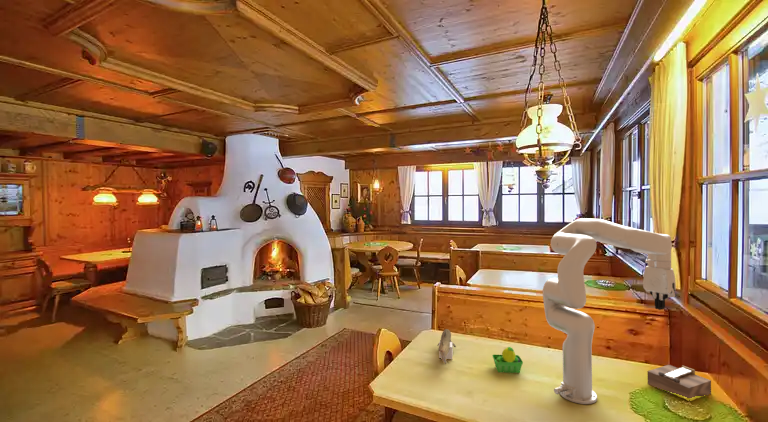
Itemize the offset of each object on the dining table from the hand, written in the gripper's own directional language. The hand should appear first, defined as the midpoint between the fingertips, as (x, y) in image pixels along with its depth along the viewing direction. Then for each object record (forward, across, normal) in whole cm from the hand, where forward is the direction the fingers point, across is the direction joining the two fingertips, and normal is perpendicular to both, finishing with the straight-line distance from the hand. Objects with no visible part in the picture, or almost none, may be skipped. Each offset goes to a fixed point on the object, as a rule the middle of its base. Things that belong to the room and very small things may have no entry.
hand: (659, 308), depth 146 cm
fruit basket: (+27, -28, -54) cm, 67 cm away
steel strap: (+22, +10, -6) cm, 25 cm away
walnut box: (+27, +10, -6) cm, 29 cm away
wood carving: (+27, -49, -72) cm, 91 cm away
